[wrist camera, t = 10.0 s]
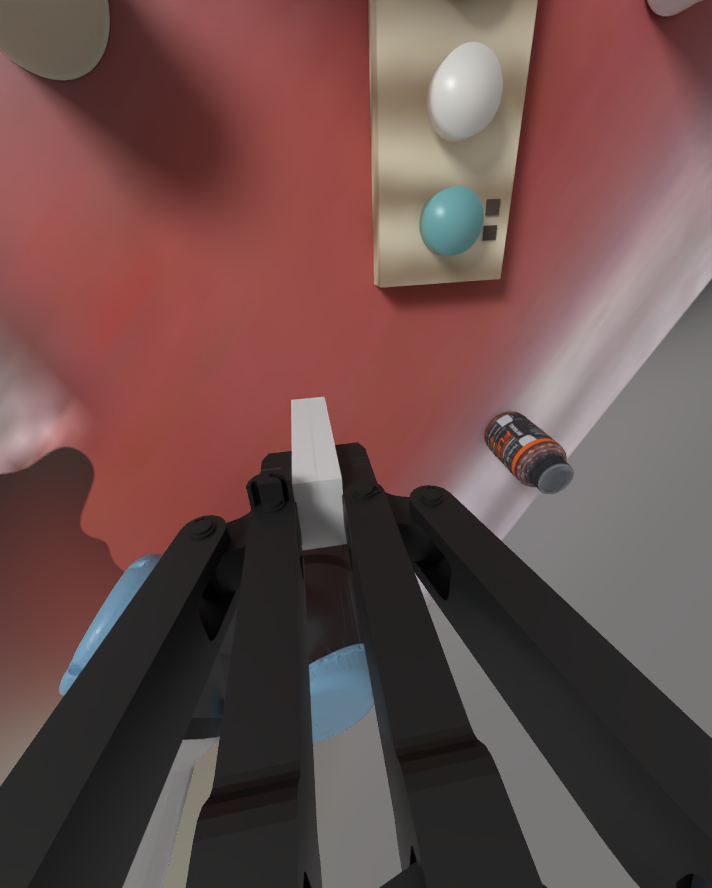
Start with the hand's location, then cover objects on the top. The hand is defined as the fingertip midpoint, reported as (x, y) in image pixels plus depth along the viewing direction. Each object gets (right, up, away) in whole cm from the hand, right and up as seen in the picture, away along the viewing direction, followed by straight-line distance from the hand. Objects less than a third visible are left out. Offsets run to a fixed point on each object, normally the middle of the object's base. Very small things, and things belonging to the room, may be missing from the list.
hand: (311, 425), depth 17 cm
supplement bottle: (+22, +1, +32) cm, 39 cm away
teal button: (+10, +19, +16) cm, 26 cm away
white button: (+10, +25, +11) cm, 29 cm away
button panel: (+9, +27, +14) cm, 32 cm away
